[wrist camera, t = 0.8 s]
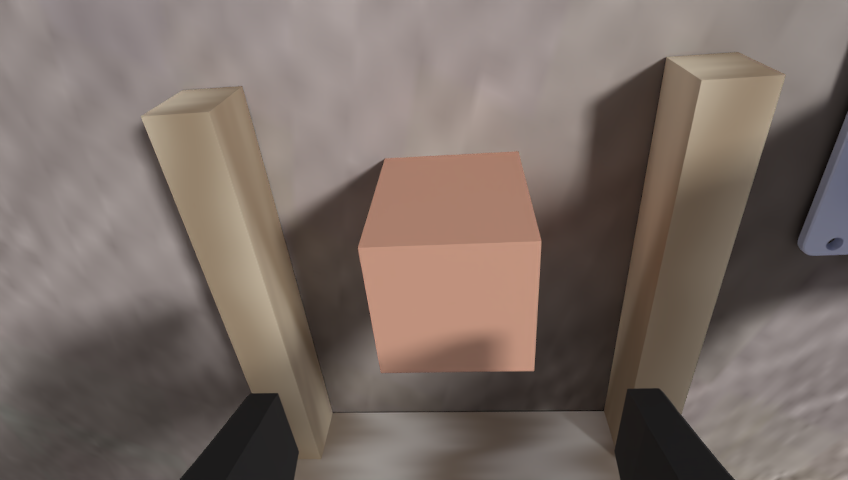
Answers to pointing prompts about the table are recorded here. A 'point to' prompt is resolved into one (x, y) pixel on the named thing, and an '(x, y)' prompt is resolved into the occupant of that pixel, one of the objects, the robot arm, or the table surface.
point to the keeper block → (452, 264)
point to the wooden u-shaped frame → (477, 431)
